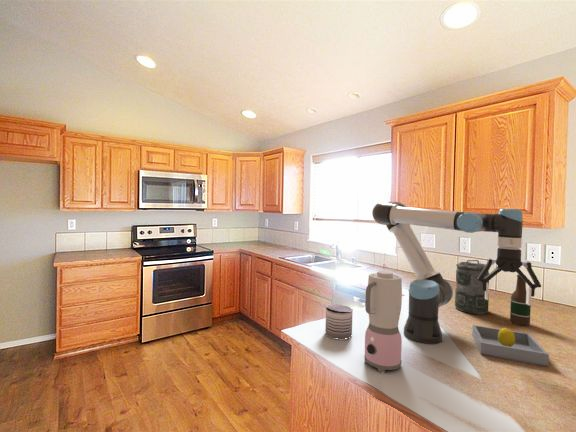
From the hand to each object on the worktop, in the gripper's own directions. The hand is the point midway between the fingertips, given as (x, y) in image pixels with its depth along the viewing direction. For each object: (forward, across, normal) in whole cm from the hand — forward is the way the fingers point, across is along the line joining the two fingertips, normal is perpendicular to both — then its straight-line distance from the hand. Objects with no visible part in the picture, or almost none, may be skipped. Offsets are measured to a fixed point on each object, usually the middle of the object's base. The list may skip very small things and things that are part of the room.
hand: (506, 301), depth 116 cm
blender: (+19, -43, -36) cm, 60 cm away
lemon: (+18, 0, 0) cm, 18 cm away
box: (+19, 0, 0) cm, 19 cm away
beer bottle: (+19, +14, +38) cm, 45 cm away
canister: (+19, -5, +50) cm, 54 cm away
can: (+19, -63, -17) cm, 68 cm away
